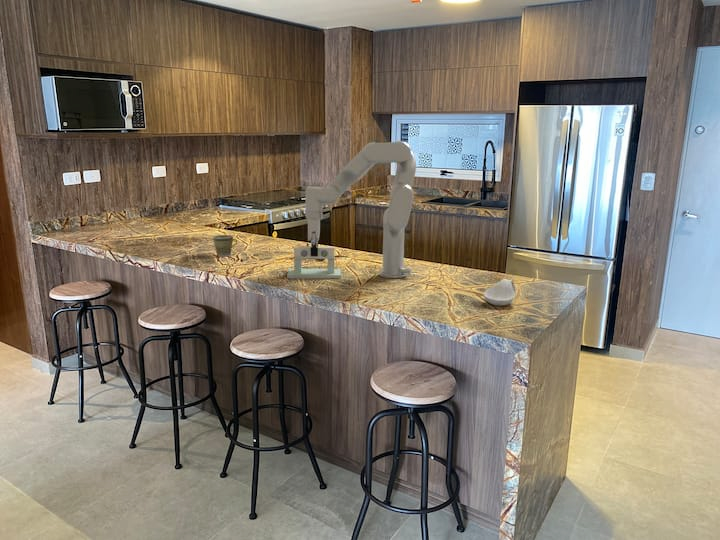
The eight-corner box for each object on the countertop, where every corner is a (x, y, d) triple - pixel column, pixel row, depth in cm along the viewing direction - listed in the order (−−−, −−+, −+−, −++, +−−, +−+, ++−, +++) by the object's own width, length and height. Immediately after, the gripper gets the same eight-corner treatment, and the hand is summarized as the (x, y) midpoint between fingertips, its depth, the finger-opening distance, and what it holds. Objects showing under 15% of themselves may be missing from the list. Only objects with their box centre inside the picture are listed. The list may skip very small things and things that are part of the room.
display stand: (340, 271, 256) (340, 252, 254) (341, 278, 244) (341, 258, 242) (289, 271, 255) (288, 252, 252) (287, 278, 243) (286, 258, 241)
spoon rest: (510, 310, 205) (511, 292, 203) (479, 305, 210) (480, 287, 208) (522, 294, 225) (524, 277, 223) (494, 290, 230) (495, 274, 229)
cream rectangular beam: (334, 257, 249) (334, 246, 248) (334, 259, 246) (334, 248, 245) (294, 257, 248) (294, 246, 247) (294, 258, 245) (293, 248, 244)
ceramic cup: (210, 256, 282) (209, 237, 279) (220, 252, 291) (219, 234, 288) (232, 258, 278) (231, 239, 275) (242, 254, 287) (241, 236, 285)
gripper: (306, 212, 251) (306, 250, 255) (304, 217, 234) (305, 258, 239) (322, 212, 251) (323, 250, 256) (322, 218, 234) (322, 259, 239)
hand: (314, 254), depth 247 cm, fingers open, 5 cm apart
